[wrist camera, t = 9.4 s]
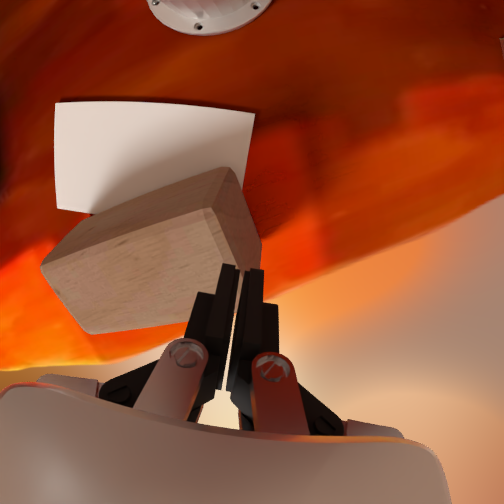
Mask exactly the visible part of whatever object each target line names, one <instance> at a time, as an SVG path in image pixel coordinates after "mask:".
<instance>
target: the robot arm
mask: <svg viewBox="0 0 504 504" xmlns="http://www.w3.org/2000/svg"><path fill="white" fill-rule="evenodd" d="M271 1H272V0H147V2H148V5H149V8H150V9H151V11H152V12H153V14H154V15H155V17H157V18H158V19H159V20H160V21H161V22H162V23H163V24H165V25H166V26H168V27H170V28H172V29H174V30H176V31H178V32H182V33H186V34H189V35H199V36H206V35H217V34H222V33H227V32H230V31H233V30H236V29H238V28H241V27H243V26H244V25H246V24H248V23H250V22H252V21H253V20H254V19H256V18H257V17H258V16H260V15H261V14H262V13H263V12H264V11H265V9H266V8H267V7H268V6H269V5H270V3H271ZM159 2H160V3H159ZM157 3H159V4H158V5H157ZM255 6H257V7H259V8H258V9H257V10H255V9H253V7H255ZM200 26H202V27H203V28H202V29H201V30H198V27H200ZM235 267H236V265H232V264H226V263H222V267H221V271H220V275H219V279H218V283H217V287H216V292H215V294H210V293H205V292H199V291H198V293H197V296H196V299H195V302H194V305H193V309H192V312H191V315H190V318H189V322H188V325H187V328H186V331H185V335H184V338H180V339H177V340H174V341H172V342H171V343H169V344H168V346H167V347H166V349H165V350H164V352H163V354H162V356H161V357H160V359H159V360H156V361H154V362H152V363H149V364H147V365H144V366H142V367H140V368H137V369H135V370H132V371H130V372H128V373H125V374H123V375H120V376H118V377H115V378H113V379H110V380H109V381H107V382H105V383H99V382H98V380H95V379H85V378H77V377H70V376H62V375H55V374H46V375H43V376H41V377H40V378H39V379H38V380H37V381H36V382H22V383H15V384H12V385H9V386H7V387H6V388H4V389H3V390H2V391H1V392H0V504H452V503H451V498H450V493H449V488H448V484H447V480H446V477H445V473H444V471H443V468H442V465H441V463H440V461H439V459H438V457H437V455H436V454H435V453H434V452H433V450H431V449H430V448H429V447H427V446H425V445H423V444H421V443H418V442H415V441H412V440H408V439H404V437H403V435H402V433H401V432H399V431H398V430H397V429H395V428H392V427H386V426H380V425H375V424H370V423H364V422H359V421H355V420H350V419H348V420H347V421H342V420H341V419H340V418H339V417H338V416H337V415H336V414H335V413H334V412H332V411H331V410H330V409H329V408H327V407H326V406H325V405H324V404H323V403H321V402H320V401H319V400H318V399H317V398H316V397H314V396H313V395H312V394H311V393H310V392H309V391H307V390H306V389H305V388H304V387H302V386H301V385H300V384H299V383H298V382H297V377H296V373H295V369H294V366H293V364H292V362H291V361H290V360H289V359H288V358H287V357H285V356H284V355H282V354H279V321H278V320H279V319H278V318H279V317H278V305H277V304H271V303H264V302H263V285H264V270H261V269H255V268H250V271H245V272H244V277H243V282H242V287H241V293H240V298H239V304H238V309H237V314H236V320H235V326H234V333H233V340H232V348H231V355H230V362H229V370H228V377H227V385H226V391H230V392H231V396H230V399H231V401H232V402H233V404H235V405H236V407H237V408H238V409H239V410H238V417H239V430H237V429H229V428H223V427H216V426H210V425H204V424H199V423H198V420H199V417H200V415H201V412H202V409H203V405H204V404H205V403H206V402H208V401H210V400H212V399H213V398H214V395H215V389H218V390H221V388H222V382H223V376H224V371H225V365H226V360H227V354H228V348H229V343H230V336H231V330H232V323H233V317H234V310H235V303H236V296H237V290H238V283H239V276H240V269H235Z"/></svg>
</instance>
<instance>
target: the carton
mask: <svg viewBox="0 0 504 504" xmlns="http://www.w3.org/2000/svg"><path fill="white" fill-rule="evenodd" d="M499 39H500V43H501V47H502V52H503V57H504V38H499Z"/></svg>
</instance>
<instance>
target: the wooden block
mask: <svg viewBox="0 0 504 504" xmlns="http://www.w3.org/2000/svg"><path fill="white" fill-rule="evenodd" d="M261 250H262V243H261V241H260V238H259V235H258V233H257V230H256V227H255V224H254V222H253V219H252V216H251V214H250V211H249V208H248V206H247V203H246V200H245V198H244V195H243V192H242V190H241V187H240V184H239V182H238V179H237V176H236V174H235V172H234V171H233V170H232V169H231V168H230V167H219V168H216V169H213V170H210V171H207V172H204V173H201V174H198V175H195V176H192V177H189V178H187V179H184V180H181V181H178V182H175V183H173V184H170V185H167V186H165V187H162V188H159V189H157V190H154V191H151V192H149V193H146V194H144V195H141V196H139V197H136V198H134V199H131V200H129V201H126V202H124V203H121V204H119V205H117V206H114V207H112V208H109V209H107V210H105V211H102V212H100V213H98V214H96V215H93V216H91V217H89V218H87V219H84V220H82V221H81V222H80V223H79V224H78V225H77V226H76V227H75V228H74V229H73V230H72V231H70V232H69V233H68V234H67V235H66V236H65V237H64V238H63V240H62V241H61V242H60V243H59V244H58V245H57V246H56V247H55V248H54V249H53V250H52V251H51V252H50V253H49V254H48V255H47V256H46V257H45V258H44V260H43V261H42V263H41V266H40V269H41V273H42V274H43V276H44V277H45V279H46V280H47V282H48V283H49V285H50V286H51V288H52V289H53V290H54V292H55V293H56V295H57V296H58V297H59V299H60V300H61V301H62V303H63V304H64V305H65V307H66V308H67V309H68V311H69V312H70V313H71V315H72V316H73V317H74V319H75V320H76V321H77V322H78V324H79V325H80V326H81V327H82V329H83V330H84V331H86V332H87V333H89V334H92V335H93V334H101V333H109V332H117V331H125V330H132V329H140V328H147V327H154V326H160V325H167V324H173V323H180V322H186V321H189V318H190V315H191V312H192V309H193V305H194V302H195V299H196V296H197V293H198V291H199V292H205V293H210V294H215V292H216V287H217V283H218V279H219V275H220V271H221V267H222V263H226V264H232V265H236V267H235V269H240V276H239V283H238V290H237V296H236V303H235V310H234V313H237V309H238V304H239V298H240V293H241V287H242V282H243V277H244V272H245V271H250V268H255V269H260V262H261Z"/></svg>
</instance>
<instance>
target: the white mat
mask: <svg viewBox="0 0 504 504" xmlns="http://www.w3.org/2000/svg"><path fill="white" fill-rule="evenodd" d="M254 118H255V114H253V113H247V112H241V111H234V110H227V109H219V108H211V107H202V106H193V105H182V104H169V103H153V102H127V101H89V102H64V103H56V105H55V128H54V160H55V184H56V198H57V208H59V209H66V210H72V211H78V212H84V213H91V214H98V213H100V212H102V211H105V210H107V209H109V208H112V207H114V206H117V205H119V204H121V203H124V202H126V201H129V200H131V199H134V198H136V197H139V196H141V195H144V194H146V193H149V192H151V191H154V190H157V189H159V188H162V187H165V186H167V185H170V184H173V183H175V182H178V181H181V180H184V179H187V178H189V177H192V176H195V175H198V174H201V173H204V172H207V171H210V170H213V169H216V168H219V167H230V168H231V169H232V170H233V171H234V172H235V174H236V176H237V179H238V182H239V184H240V187H241V190H242V187H243V181H244V175H245V169H246V163H247V157H248V152H249V146H250V140H251V135H252V129H253V123H254Z"/></svg>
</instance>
